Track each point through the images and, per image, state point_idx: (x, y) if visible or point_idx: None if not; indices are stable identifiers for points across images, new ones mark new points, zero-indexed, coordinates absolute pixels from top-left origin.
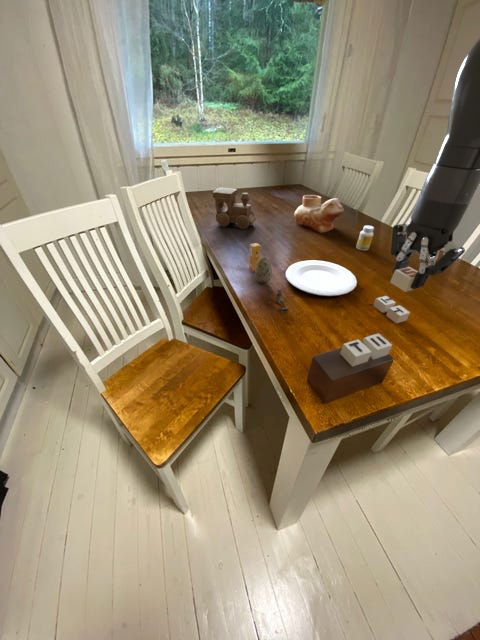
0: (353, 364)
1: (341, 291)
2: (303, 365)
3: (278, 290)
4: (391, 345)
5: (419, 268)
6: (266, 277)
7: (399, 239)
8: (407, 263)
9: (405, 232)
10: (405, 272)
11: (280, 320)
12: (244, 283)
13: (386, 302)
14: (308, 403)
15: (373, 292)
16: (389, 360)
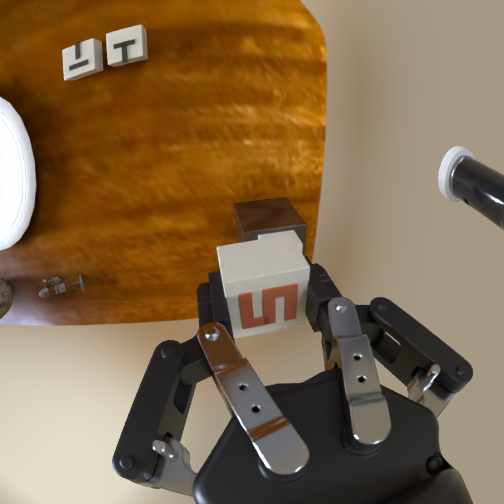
0: None
1: (24, 150)
2: None
3: (45, 296)
4: (302, 246)
5: (323, 345)
6: (8, 296)
7: (178, 427)
8: (229, 315)
9: (185, 458)
10: (264, 322)
11: (105, 290)
12: (17, 309)
13: (87, 62)
14: None
15: (33, 58)
16: (304, 234)
